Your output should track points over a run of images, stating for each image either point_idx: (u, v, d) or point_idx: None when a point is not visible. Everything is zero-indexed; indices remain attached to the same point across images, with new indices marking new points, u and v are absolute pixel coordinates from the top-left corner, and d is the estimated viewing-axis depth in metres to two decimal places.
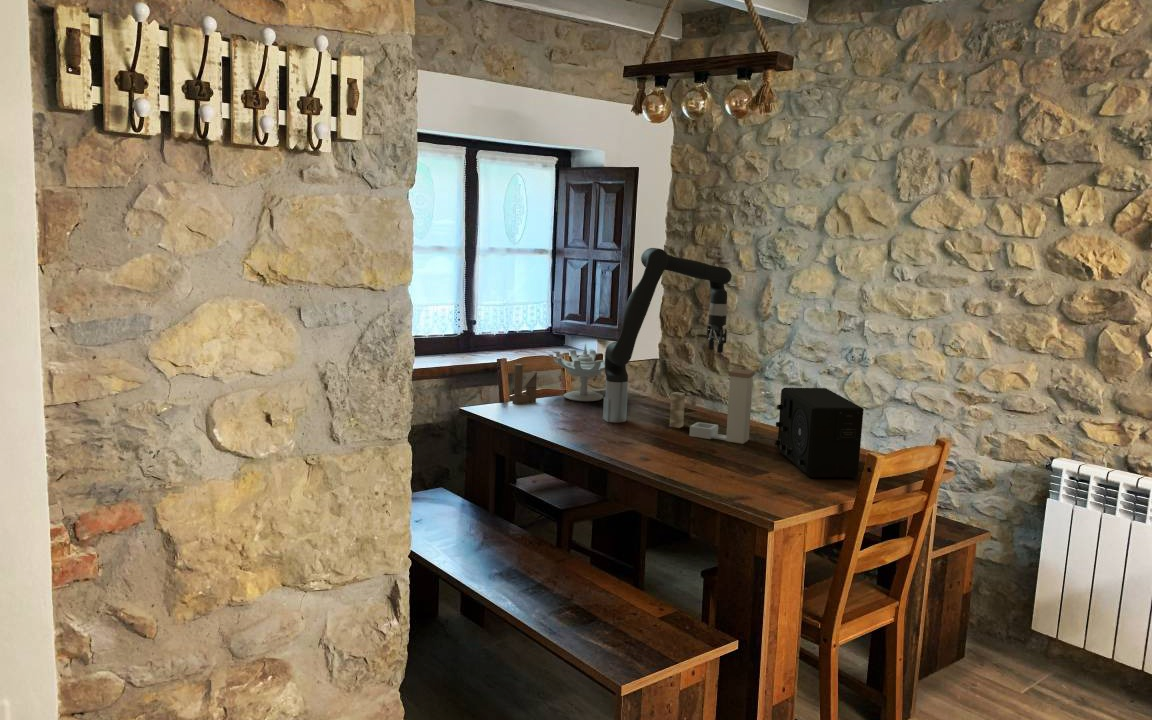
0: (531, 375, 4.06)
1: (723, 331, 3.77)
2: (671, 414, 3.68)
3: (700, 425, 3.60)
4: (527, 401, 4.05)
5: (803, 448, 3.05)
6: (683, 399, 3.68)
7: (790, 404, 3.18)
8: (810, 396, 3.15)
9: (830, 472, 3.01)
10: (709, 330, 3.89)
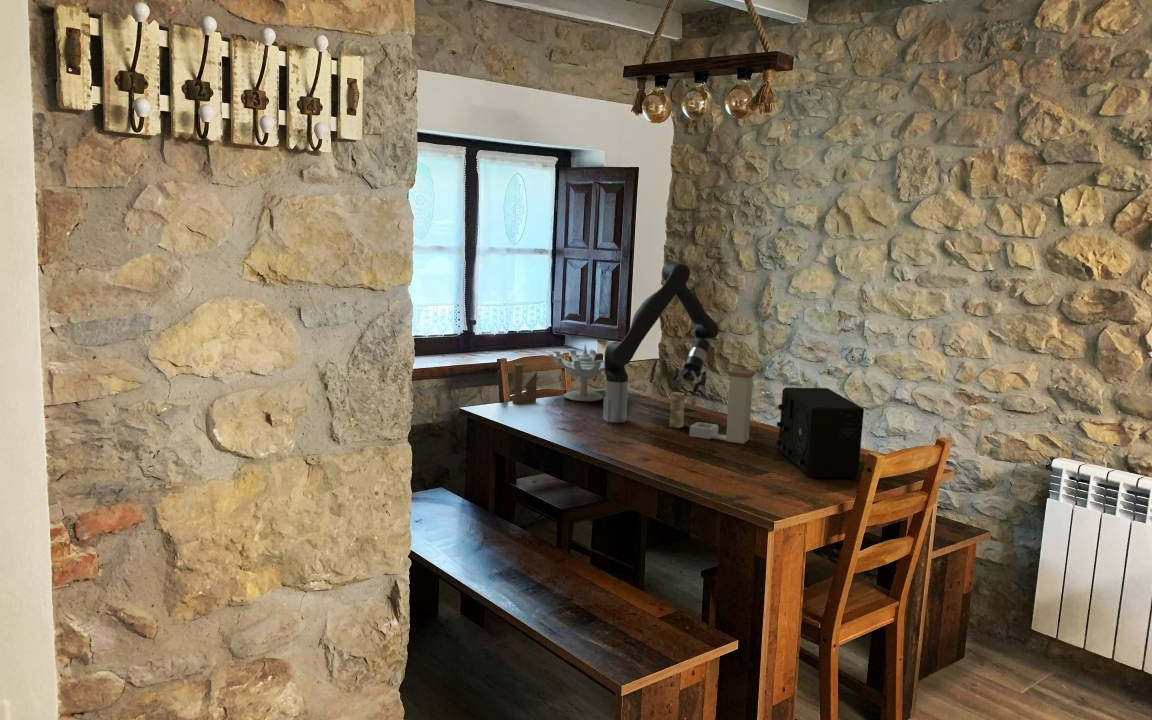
0: (531, 375, 4.06)
1: (706, 374, 3.76)
2: (671, 414, 3.68)
3: (700, 425, 3.60)
4: (527, 401, 4.05)
5: (803, 448, 3.05)
6: (683, 399, 3.68)
7: (791, 404, 3.18)
8: (811, 396, 3.15)
9: (830, 472, 3.01)
10: (677, 372, 3.81)
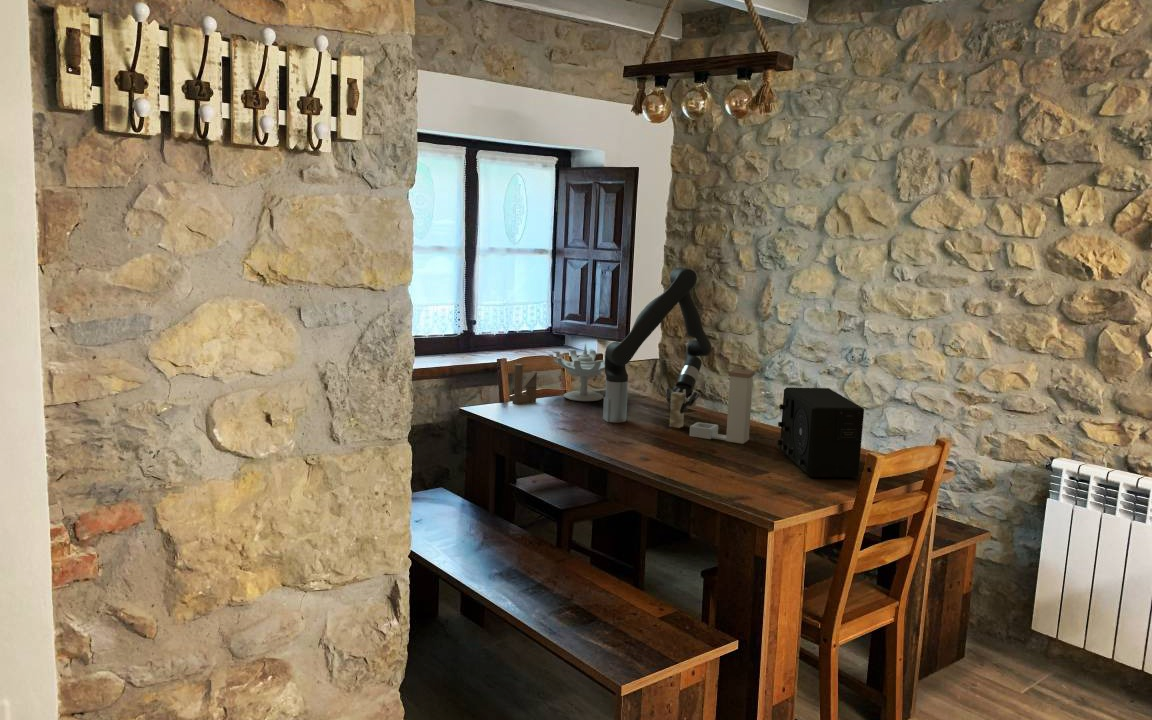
0: (531, 375, 4.06)
1: (696, 395, 3.69)
2: (671, 414, 3.68)
3: (700, 425, 3.60)
4: (527, 401, 4.05)
5: (804, 448, 3.06)
6: (683, 399, 3.68)
7: (792, 404, 3.18)
8: (812, 396, 3.15)
9: (830, 472, 3.01)
10: None
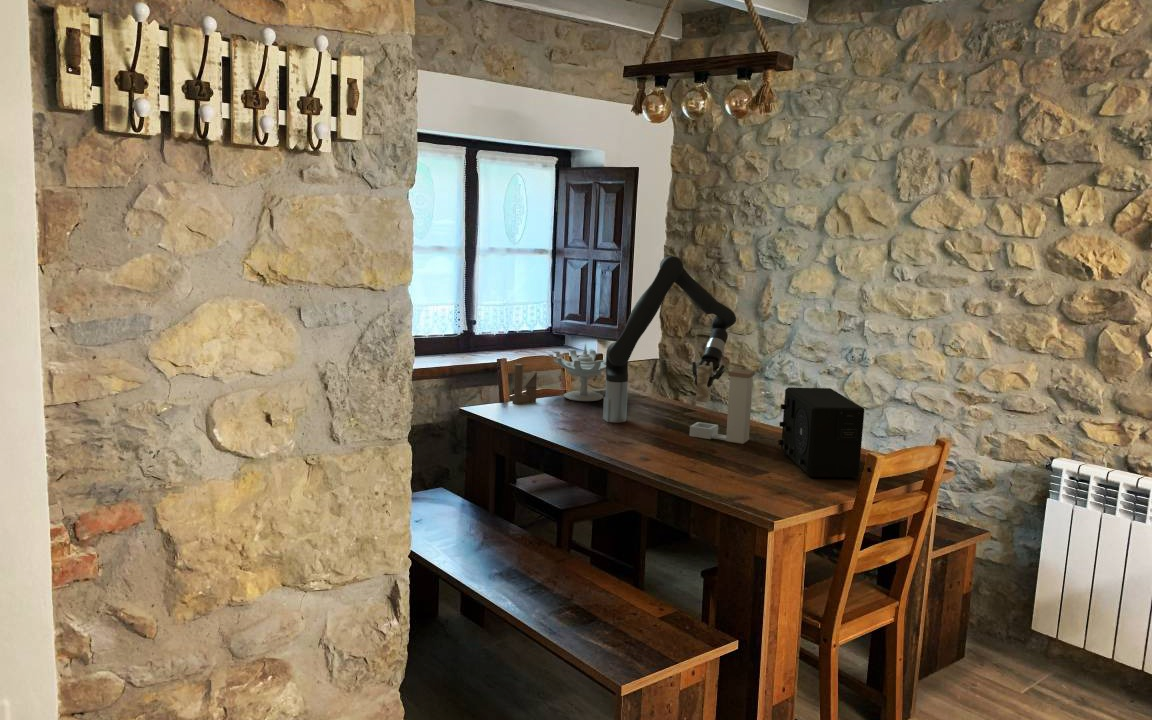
0: (531, 375, 4.06)
1: (724, 368, 3.55)
2: (698, 388, 3.54)
3: (700, 425, 3.60)
4: (527, 401, 4.05)
5: (804, 448, 3.06)
6: (710, 372, 3.54)
7: (793, 404, 3.18)
8: (812, 396, 3.16)
9: (830, 472, 3.01)
10: (695, 366, 3.60)
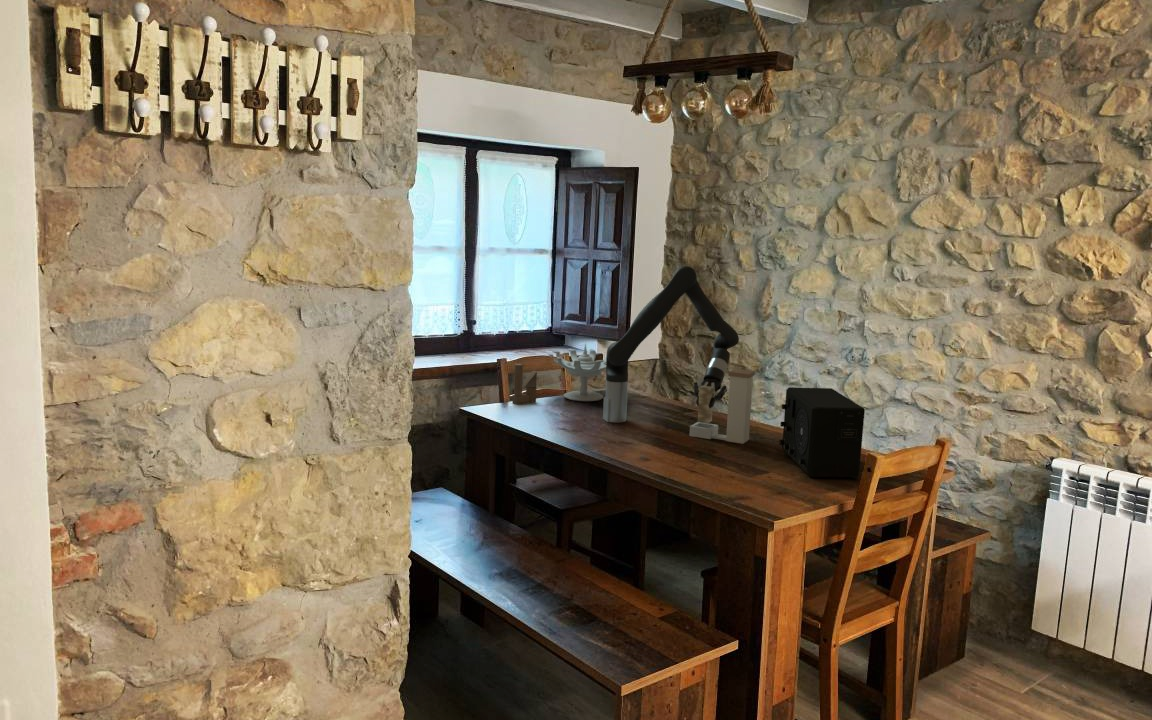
0: (531, 375, 4.06)
1: (725, 389, 3.54)
2: (699, 409, 3.54)
3: (700, 425, 3.60)
4: (527, 401, 4.05)
5: (804, 448, 3.06)
6: (712, 393, 3.53)
7: (793, 404, 3.18)
8: (813, 396, 3.16)
9: (830, 472, 3.01)
10: (697, 386, 3.59)
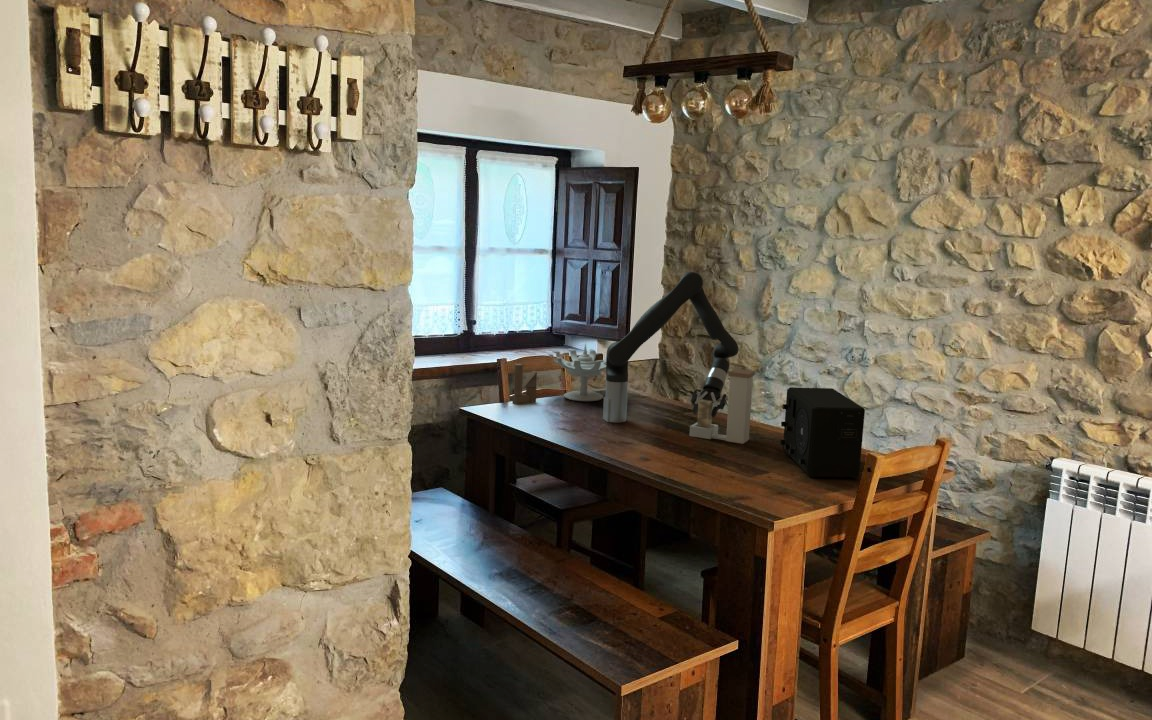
0: (531, 375, 4.06)
1: (726, 397, 3.55)
2: (698, 423, 3.55)
3: None
4: (527, 401, 4.05)
5: (804, 448, 3.06)
6: (711, 407, 3.54)
7: (794, 404, 3.18)
8: (814, 396, 3.16)
9: (830, 472, 3.01)
10: (696, 395, 3.60)
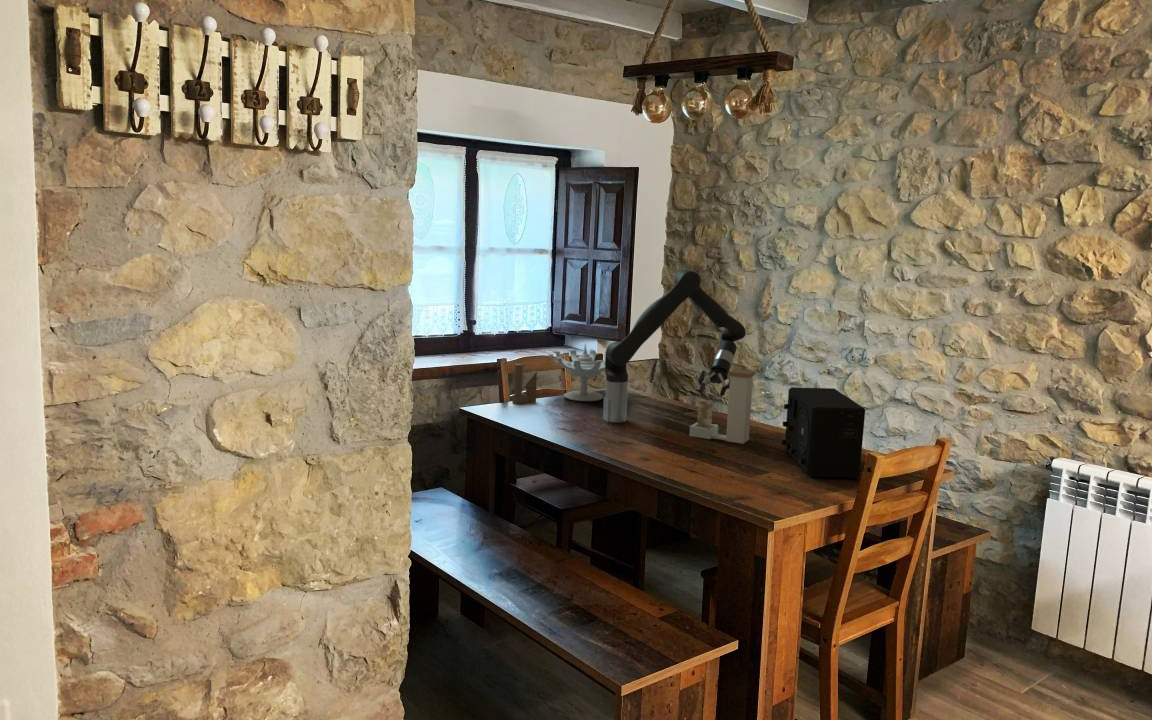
0: (531, 375, 4.06)
1: None
2: (698, 423, 3.55)
3: None
4: (527, 401, 4.05)
5: (805, 447, 3.06)
6: (711, 407, 3.54)
7: (795, 404, 3.19)
8: (815, 396, 3.16)
9: (830, 472, 3.01)
10: (703, 375, 3.72)
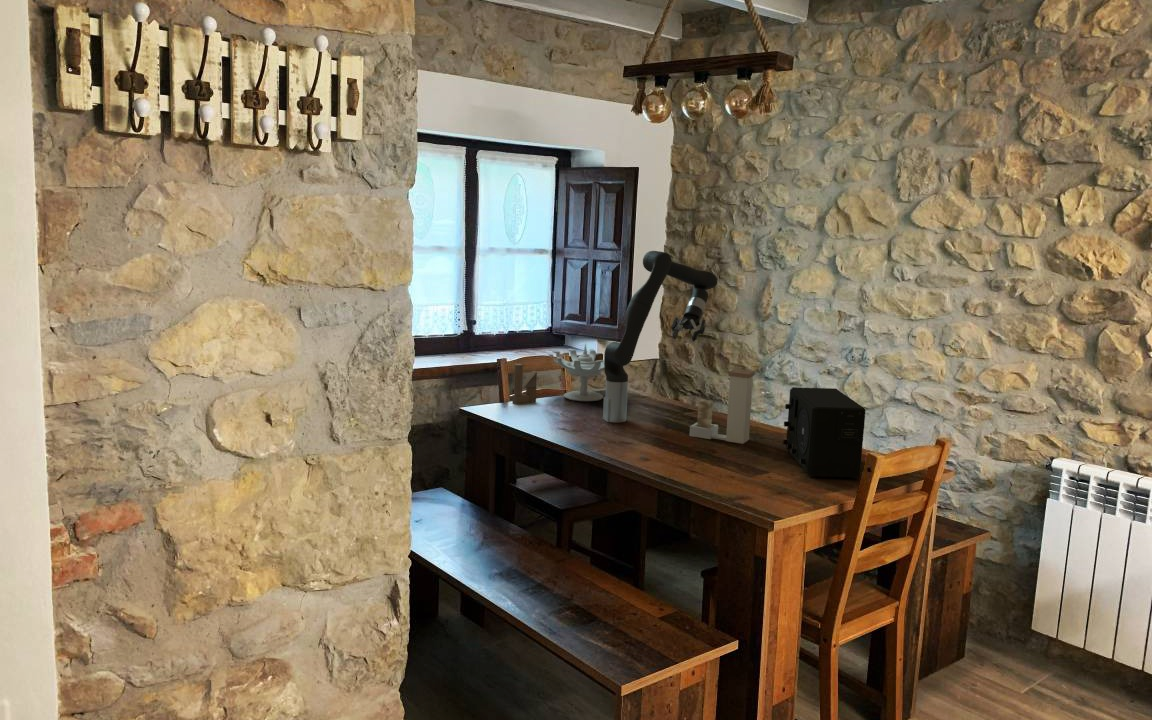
0: (531, 375, 4.06)
1: (705, 322, 3.80)
2: (698, 423, 3.55)
3: None
4: (527, 401, 4.05)
5: (805, 447, 3.06)
6: (711, 407, 3.54)
7: (796, 403, 3.19)
8: (816, 396, 3.16)
9: (830, 472, 3.01)
10: (676, 322, 3.85)
